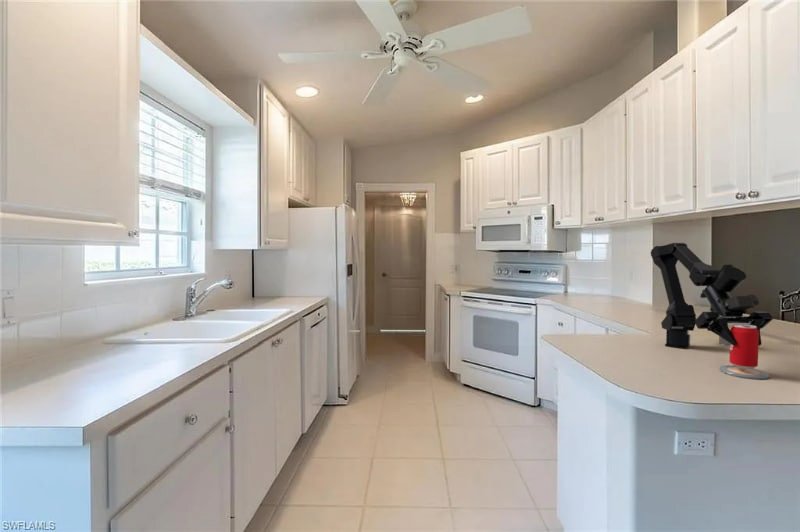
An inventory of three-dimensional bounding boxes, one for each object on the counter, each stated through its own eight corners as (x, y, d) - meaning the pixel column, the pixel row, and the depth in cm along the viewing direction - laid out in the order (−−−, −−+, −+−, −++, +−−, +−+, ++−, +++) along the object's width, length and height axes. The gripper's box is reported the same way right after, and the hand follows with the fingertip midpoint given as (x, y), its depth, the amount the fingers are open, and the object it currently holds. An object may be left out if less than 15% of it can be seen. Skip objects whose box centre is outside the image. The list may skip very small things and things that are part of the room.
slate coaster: (716, 373, 114) (716, 371, 114) (721, 365, 122) (722, 363, 122) (768, 382, 106) (768, 379, 106) (770, 372, 114) (770, 370, 114)
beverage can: (746, 363, 117) (748, 323, 116) (763, 369, 111) (765, 327, 110) (723, 362, 117) (725, 323, 117) (739, 369, 111) (741, 327, 111)
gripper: (702, 285, 117) (728, 329, 107) (769, 285, 116) (802, 330, 105) (684, 306, 126) (707, 349, 115) (747, 306, 124) (775, 350, 114)
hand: (747, 344), depth 112 cm, fingers closed on beverage can, 6 cm apart
